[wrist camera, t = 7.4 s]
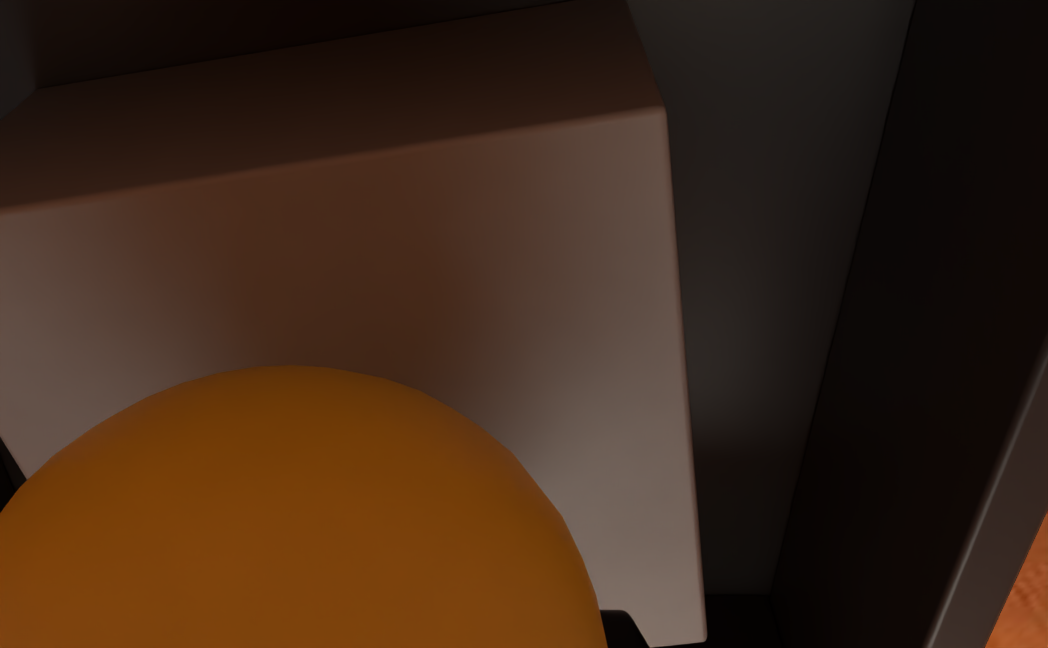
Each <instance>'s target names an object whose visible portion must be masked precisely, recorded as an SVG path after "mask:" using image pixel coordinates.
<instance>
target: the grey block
mask: <svg viewBox="0 0 1048 648" xmlns="http://www.w3.org/2000/svg"><path fill="white" fill-rule="evenodd" d="M281 365H299V366H314V367H327V368H333V369H339V370H346V371H351V372H356V373H361V374H366V375H371V376H376V377H381V378H385V379H388V380H391V381H394V382H397V383H400V384H402V385H405V386H408V387H411V388H414V389H417V390H419V391H422V392H423V393H425V394H427V395H429V396H431V397H432V398H434V399H436V400H438V401H440V402H442V403H443V404H445V405H447V406H449V407H451V408H452V409H454V410H455V411H457V412H459V413H460V414H462V415H463V416H465V417H466V418H468V419H469V420H471V421H472V422H474V423H476V424H477V425H479V426H480V427H482V428H483V429H484V430H485V431H487V432H488V433H489V434H490V435H491V436H493V437H494V438H495V439H496V440H497V441H499V442H500V443H501V444H502V445H503V446H505V447H506V448H507V449H508V450H510V451H511V452H512V453H513V454H514V455H515V457H516V458H517V459H518V460H519V462H520V463H521V464H522V466H523V467H524V468H525V469H526V471H527V472H528V473H529V474H530V476H531V477H532V478H533V479H534V481H535V482H536V483H537V485H538V486H539V487H540V488H541V490H542V491H543V492H544V493H545V495H546V496H547V497H548V499H549V500H550V501H551V502H552V504H553V505H554V506H555V507H556V509H557V510H558V511H559V513H560V514H561V515H562V516H563V518H564V520H565V523H566V525H567V527H568V529H569V531H570V533H571V535H572V537H573V539H574V541H575V544H576V546H577V548H578V550H579V552H580V554H581V556H582V558H583V561H584V564H585V566H586V569H587V572H588V574H589V577H590V580H591V582H592V585H593V588H594V590H595V593H596V596H597V600H598V605H599V610H624V611H626V612H627V613H628V614H629V615H630V616H631V617H632V619H633V620H634V622H635V624H636V625H637V627H638V629H639V630H640V632H641V634H642V635H643V637H644V639H645V640H646V642H647V644H648V645H649V647H650V648H654V647H663V646H672V645H681V644H690V643H699V642H704V641H706V639H707V635H708V634H707V621H706V608H705V595H704V582H703V569H702V557H701V544H700V531H699V518H698V505H697V492H696V479H695V467H694V454H693V441H692V428H691V415H690V402H689V390H688V377H687V364H686V351H685V338H684V325H683V313H682V300H681V287H680V274H679V261H678V248H677V235H676V223H675V210H674V197H673V184H672V171H671V158H670V146H669V133H668V120H667V111H666V108H665V105H664V102H663V100H662V97H661V94H660V91H659V89H658V86H657V83H656V80H655V78H654V75H653V72H652V69H651V66H650V64H649V61H648V58H647V55H646V53H645V50H644V47H643V44H642V42H641V39H640V36H639V33H638V30H637V28H636V25H635V22H634V19H633V17H632V14H631V11H630V8H629V6H628V3H627V0H574V1H568V2H561V3H555V4H549V5H543V6H537V7H531V8H525V9H519V10H513V11H507V12H501V13H495V14H489V15H483V16H477V17H471V18H465V19H459V20H452V21H446V22H440V23H434V24H428V25H422V26H416V27H410V28H404V29H398V30H392V31H386V32H380V33H374V34H368V35H362V36H356V37H350V38H343V39H337V40H331V41H325V42H319V43H313V44H307V45H301V46H295V47H289V48H283V49H277V50H271V51H265V52H259V53H253V54H247V55H241V56H234V57H228V58H222V59H216V60H210V61H204V62H198V63H192V64H186V65H180V66H174V67H168V68H162V69H156V70H150V71H144V72H138V73H132V74H125V75H119V76H113V77H107V78H101V79H95V80H89V81H83V82H77V83H71V84H65V85H59V86H53V87H47V88H41V89H37V90H35V91H34V92H33V93H32V94H31V95H29V96H28V97H27V98H26V99H25V100H24V101H22V102H21V103H20V104H19V105H18V106H17V107H15V108H14V109H13V110H12V111H11V112H10V113H8V114H7V115H6V116H5V117H4V118H3V119H2V120H0V437H1V439H2V440H3V442H4V444H5V445H6V447H7V448H8V450H9V452H10V453H11V455H12V456H13V458H14V460H15V461H16V463H17V464H18V466H19V468H20V469H21V471H22V472H23V474H24V476H25V477H26V479H27V480H28V479H29V478H30V477H31V476H32V475H33V474H34V473H35V472H36V471H37V470H38V469H39V468H41V467H42V466H43V465H44V464H45V463H46V462H47V461H48V460H49V459H50V458H51V457H52V456H53V455H55V454H56V453H57V452H59V451H60V450H62V449H63V448H64V447H66V446H67V445H69V444H70V443H71V442H73V441H74V440H76V439H77V438H78V437H80V436H81V435H83V434H84V433H85V432H87V431H88V430H89V429H91V428H93V427H94V426H96V425H98V424H99V423H101V422H103V421H104V420H106V419H108V418H109V417H111V416H113V415H115V414H116V413H118V412H120V411H122V410H124V409H126V408H128V407H129V406H131V405H133V404H135V403H137V402H139V401H140V400H142V399H144V398H146V397H148V396H151V395H153V394H156V393H158V392H161V391H163V390H166V389H168V388H171V387H173V386H176V385H178V384H181V383H183V382H187V381H191V380H194V379H198V378H202V377H205V376H209V375H212V374H216V373H220V372H226V371H232V370H239V369H245V368H251V367H261V366H281Z"/></svg>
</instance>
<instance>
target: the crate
mask: <svg viewBox="0 0 1048 648" xmlns="http://www.w3.org/2000/svg"><path fill="white" fill-rule="evenodd" d="M568 1H574V0H0V120H2V119H3V118H4V117H5V116H6V115H7V114H8V113H10V112H11V111H12V110H13V109H14V108H15V107H17V106H18V105H19V104H20V103H21V102H22V101H24V100H25V99H26V98H27V97H28V96H29V95H31V94H32V93H33V92H34V91H35V90H37V89H41V88H47V87H53V86H59V85H65V84H71V83H77V82H83V81H89V80H95V79H101V78H107V77H113V76H119V75H125V74H132V73H138V72H144V71H150V70H156V69H162V68H168V67H174V66H180V65H186V64H192V63H198V62H204V61H210V60H216V59H222V58H228V57H234V56H241V55H247V54H253V53H259V52H265V51H271V50H277V49H283V48H289V47H295V46H301V45H307V44H313V43H319V42H325V41H331V40H337V39H343V38H350V37H356V36H362V35H368V34H374V33H380V32H386V31H392V30H398V29H404V28H410V27H416V26H422V25H428V24H434V23H440V22H446V21H452V20H459V19H465V18H471V17H477V16H483V15H489V14H495V13H501V12H507V11H513V10H519V9H525V8H531V7H537V6H543V5H549V4H555V3H561V2H568ZM627 3H628V6H629V8H630V11H631V14H632V17H633V19H634V22H635V25H636V28H637V30H638V33H639V36H640V39H641V42H642V44H643V47H644V50H645V53H646V55H647V58H648V61H649V64H650V66H651V69H652V72H653V75H654V78H655V80H656V83H657V86H658V89H659V91H660V94H661V97H662V100H663V102H664V105H665V108H666V111H667V120H668V133H669V146H670V158H671V171H672V184H673V197H674V210H675V223H676V235H677V248H678V261H679V274H680V287H681V300H682V313H683V325H684V338H685V351H686V364H687V377H688V390H689V402H690V415H691V428H692V441H693V454H694V467H695V479H696V492H697V505H698V518H699V531H700V544H701V557H702V569H703V582H704V595H705V608H706V621H707V634H708V635H707V639H706V641H704V642H699V643H690V644H681V645H672V646H663V647H654V648H985V646H986V644H987V641H988V639H989V637H990V635H991V633H992V631H993V628H994V626H995V624H996V622H997V620H998V617H999V615H1000V613H1001V611H1002V609H1003V607H1004V604H1005V602H1006V600H1007V598H1008V596H1009V593H1010V591H1011V589H1012V587H1013V585H1014V583H1015V580H1016V578H1017V576H1018V574H1019V572H1020V569H1021V567H1022V565H1023V563H1024V561H1025V559H1026V556H1027V554H1028V552H1029V550H1030V548H1031V546H1032V543H1033V541H1034V539H1035V537H1036V535H1037V532H1038V530H1039V528H1040V526H1041V524H1042V522H1043V519H1044V517H1045V515H1046V513H1047V511H1048V0H627ZM26 481H27V479H26V477H25V476H24V474H23V472H22V471H21V469H20V468H19V466H18V464H17V463H16V461H15V460H14V458H13V456H12V455H11V453H10V452H9V450H8V448H7V447H6V445H5V444H4V442H3V440H2V439H1V437H0V513H1V511H2V510H3V509H4V507H5V506H6V505H7V503H8V502H9V501H10V499H11V498H12V497H13V495H14V494H15V493H16V491H17V490H18V489H19V488H20V487H21V486H22V485H23V484H24V483H25V482H26Z"/></svg>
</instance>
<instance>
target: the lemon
mask: <svg viewBox="0 0 1048 648" xmlns="http://www.w3.org/2000/svg"><path fill="white" fill-rule="evenodd" d="M0 648H608V646H607V642H606V637H605V633H604V628H603V623H602V619H601V614H600V610H599V605H598V600H597V596H596V593H595V590H594V588H593V585H592V582H591V580H590V577H589V574H588V572H587V569H586V566H585V564H584V561H583V558H582V556H581V554H580V552H579V550H578V548H577V546H576V544H575V541H574V539H573V537H572V535H571V533H570V531H569V529H568V527H567V525H566V523H565V520H564V518H563V516H562V515H561V514H560V513H559V511H558V510H557V509H556V507H555V506H554V505H553V504H552V502H551V501H550V500H549V499H548V497H547V496H546V495H545V493H544V492H543V491H542V490H541V488H540V487H539V486H538V485H537V483H536V482H535V481H534V479H533V478H532V477H531V476H530V474H529V473H528V472H527V471H526V469H525V468H524V467H523V466H522V464H521V463H520V462H519V460H518V459H517V458H516V457H515V455H514V454H513V453H512V452H511V451H510V450H508V449H507V448H506V447H505V446H503V445H502V444H501V443H500V442H499V441H497V440H496V439H495V438H494V437H493V436H491V435H490V434H489V433H488V432H487V431H485V430H484V429H483V428H482V427H480V426H479V425H477V424H476V423H474V422H472V421H471V420H469V419H468V418H466V417H465V416H463V415H462V414H460V413H459V412H457V411H455V410H454V409H452V408H451V407H449V406H447V405H445V404H443V403H442V402H440V401H438V400H436V399H434V398H432V397H431V396H429V395H427V394H425V393H423V392H422V391H419V390H417V389H414V388H411V387H408V386H405V385H402V384H400V383H397V382H394V381H391V380H388V379H385V378H381V377H376V376H371V375H366V374H361V373H356V372H351V371H346V370H339V369H333V368H327V367H314V366H299V365H281V366H261V367H251V368H245V369H239V370H232V371H226V372H220V373H216V374H212V375H209V376H205V377H202V378H198V379H194V380H191V381H187V382H183V383H181V384H178V385H176V386H173V387H171V388H168V389H166V390H163V391H161V392H158V393H156V394H153V395H151V396H148V397H146V398H144V399H142V400H140V401H139V402H137V403H135V404H133V405H131V406H129V407H128V408H126V409H124V410H122V411H120V412H118V413H116V414H115V415H113V416H111V417H109V418H108V419H106V420H104V421H103V422H101V423H99V424H98V425H96V426H94V427H93V428H91V429H89V430H88V431H87V432H85V433H84V434H83V435H81V436H80V437H78V438H77V439H76V440H74V441H73V442H71V443H70V444H69V445H67V446H66V447H64V448H63V449H62V450H60V451H59V452H57V453H56V454H55V455H53V456H52V457H51V458H50V459H49V460H48V461H47V462H46V463H45V464H44V465H43V466H42V467H41V468H39V469H38V470H37V471H36V472H35V473H34V474H33V475H32V476H31V477H30V478H29V479H28V480H27V481H26V482H25V483H24V484H23V485H22V486H21V487H20V488H19V489H18V490H17V491H16V493H15V494H14V495H13V497H12V498H11V499H10V501H9V502H8V503H7V505H6V506H5V507H4V509H3V510H2V511H1V513H0Z"/></svg>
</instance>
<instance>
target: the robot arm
mask: <svg viewBox="0 0 1048 648" xmlns="http://www.w3.org/2000/svg"><path fill="white" fill-rule="evenodd" d="M600 614H601V619H602V623H603V628H604V633H605V637H606V642H607V646H608V648H650V647H649V645H648V644H647V642H646V640H645V639H644V637H643V635H642V634H641V632H640V630H639V629H638V627H637V625H636V624H635V622H634V620H633V619H632V617H631V616H630V615H629V614H628V613H627V612H626V611H624V610H600Z"/></svg>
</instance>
